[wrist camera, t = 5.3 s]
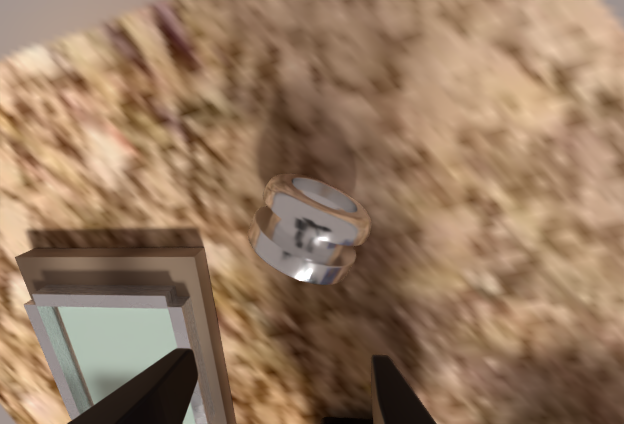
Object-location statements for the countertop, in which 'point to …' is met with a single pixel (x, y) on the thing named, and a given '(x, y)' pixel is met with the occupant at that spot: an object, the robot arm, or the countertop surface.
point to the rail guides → (111, 296)
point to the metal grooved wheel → (308, 229)
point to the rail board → (132, 314)
